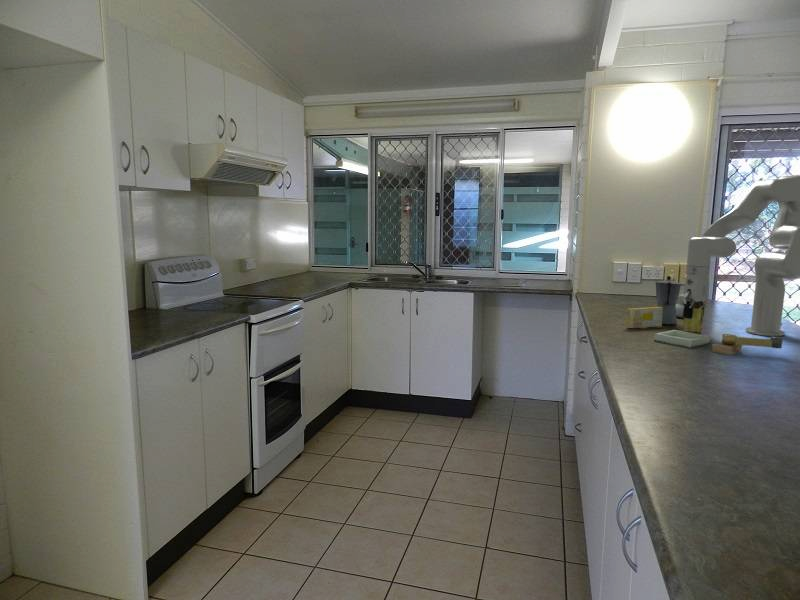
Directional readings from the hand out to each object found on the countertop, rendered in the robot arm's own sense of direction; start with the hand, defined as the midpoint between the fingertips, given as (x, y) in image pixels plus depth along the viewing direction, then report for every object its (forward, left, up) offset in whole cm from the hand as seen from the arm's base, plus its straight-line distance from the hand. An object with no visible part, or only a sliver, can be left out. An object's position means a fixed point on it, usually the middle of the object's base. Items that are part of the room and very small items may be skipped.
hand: (693, 316), depth 204 cm
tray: (+15, +4, -7) cm, 17 cm away
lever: (+13, +25, -4) cm, 29 cm away
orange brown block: (+17, +20, -7) cm, 27 cm away
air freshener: (-37, -22, -7) cm, 44 cm away
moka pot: (-14, -18, -7) cm, 24 cm away
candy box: (+2, -18, -7) cm, 20 cm away
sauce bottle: (0, 0, -7) cm, 7 cm away
